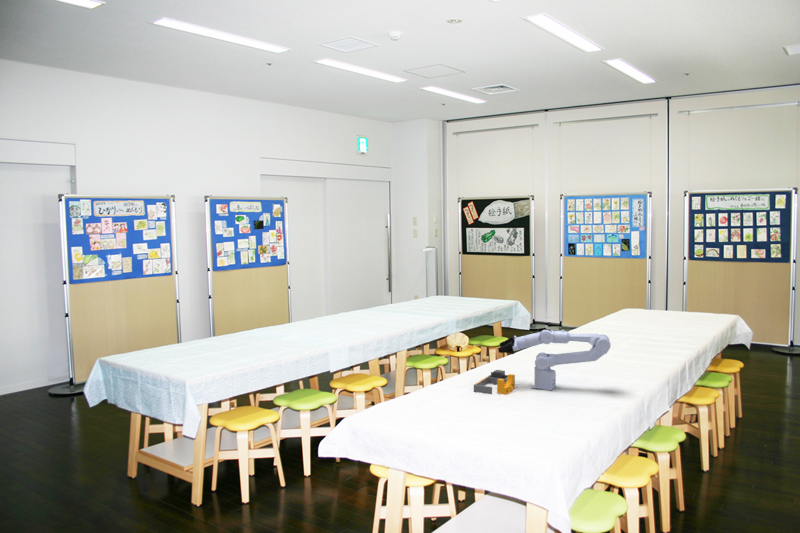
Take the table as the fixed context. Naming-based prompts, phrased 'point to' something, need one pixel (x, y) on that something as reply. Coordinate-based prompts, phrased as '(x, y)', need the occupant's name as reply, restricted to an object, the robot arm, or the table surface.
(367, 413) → the table surface
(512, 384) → the pipe clamp
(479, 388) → the grey piece
